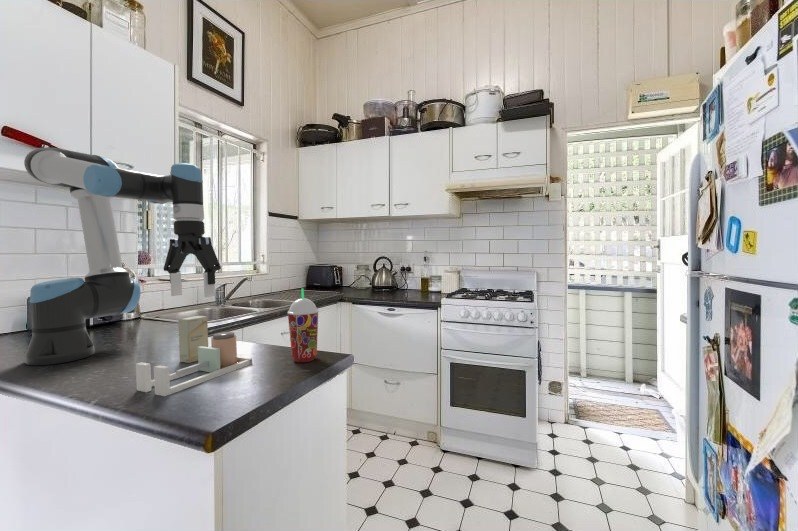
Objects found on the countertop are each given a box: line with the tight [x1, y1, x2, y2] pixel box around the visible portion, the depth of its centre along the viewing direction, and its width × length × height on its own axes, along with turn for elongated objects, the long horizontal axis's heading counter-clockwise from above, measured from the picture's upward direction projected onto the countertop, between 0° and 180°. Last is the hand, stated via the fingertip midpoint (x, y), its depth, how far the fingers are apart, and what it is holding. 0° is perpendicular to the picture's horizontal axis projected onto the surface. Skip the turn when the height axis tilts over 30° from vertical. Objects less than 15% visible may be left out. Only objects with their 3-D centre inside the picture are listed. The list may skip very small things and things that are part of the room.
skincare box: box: [177, 315, 209, 364], centre depth 105 cm, size 6×4×12 cm
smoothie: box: [287, 288, 319, 363], centre depth 102 cm, size 8×8×20 cm
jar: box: [210, 331, 238, 369], centre depth 97 cm, size 6×6×9 cm
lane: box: [135, 355, 253, 397], centre depth 91 cm, size 10×24×6 cm, turn 156°
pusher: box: [175, 346, 220, 375], centre depth 89 cm, size 7×9×6 cm
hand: (192, 296), depth 104 cm, fingers open, 13 cm apart
